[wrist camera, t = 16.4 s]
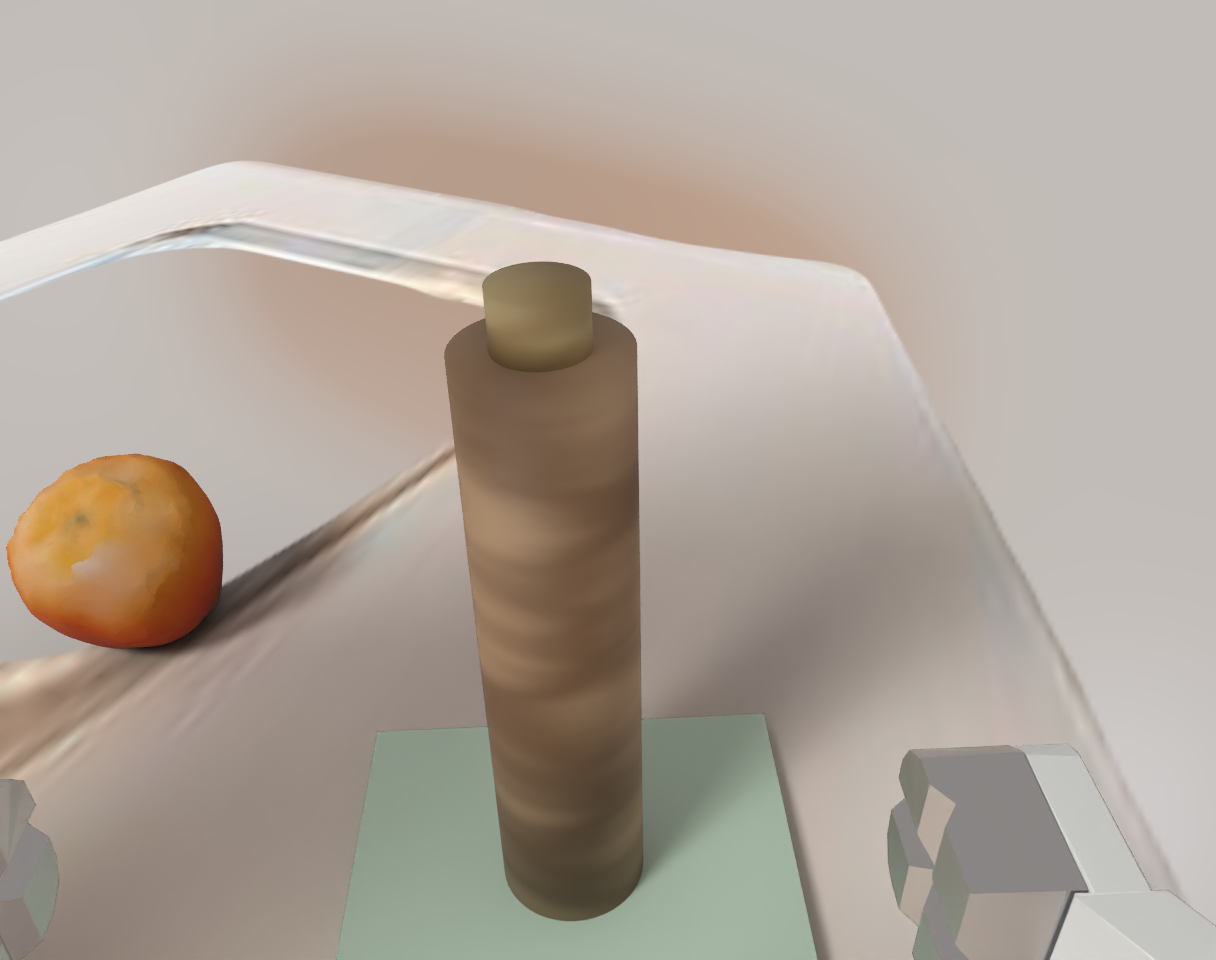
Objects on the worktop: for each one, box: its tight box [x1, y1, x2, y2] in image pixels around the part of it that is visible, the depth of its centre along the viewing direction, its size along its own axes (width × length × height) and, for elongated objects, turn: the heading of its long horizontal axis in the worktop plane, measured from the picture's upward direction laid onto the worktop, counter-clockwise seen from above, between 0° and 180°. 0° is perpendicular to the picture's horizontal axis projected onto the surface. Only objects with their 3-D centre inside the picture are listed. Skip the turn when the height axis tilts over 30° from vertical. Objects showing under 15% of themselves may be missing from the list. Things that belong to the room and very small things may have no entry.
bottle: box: [444, 262, 643, 921], centre depth 30 cm, size 4×4×20 cm
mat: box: [336, 713, 817, 960], centre depth 35 cm, size 14×12×1 cm
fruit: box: [6, 454, 223, 649], centre depth 46 cm, size 8×8×8 cm
